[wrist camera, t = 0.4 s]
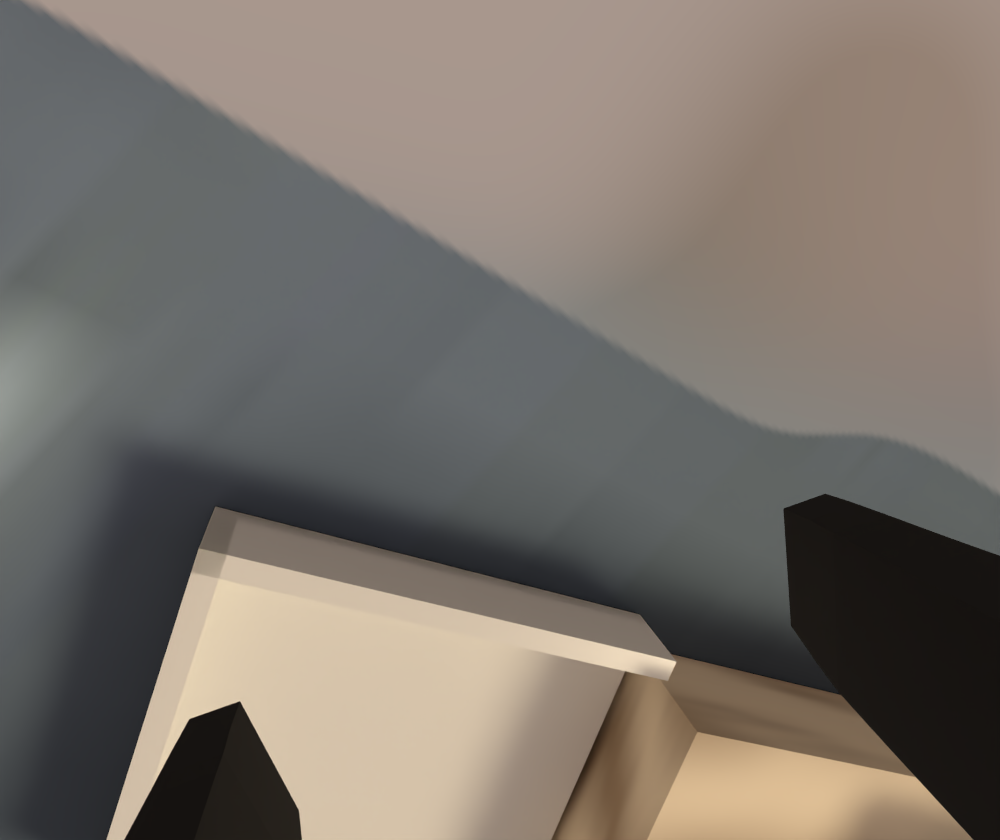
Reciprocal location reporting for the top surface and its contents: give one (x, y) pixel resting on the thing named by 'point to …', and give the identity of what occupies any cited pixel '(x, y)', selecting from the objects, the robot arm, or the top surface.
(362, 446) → the top surface
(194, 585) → the tray
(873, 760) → the board
